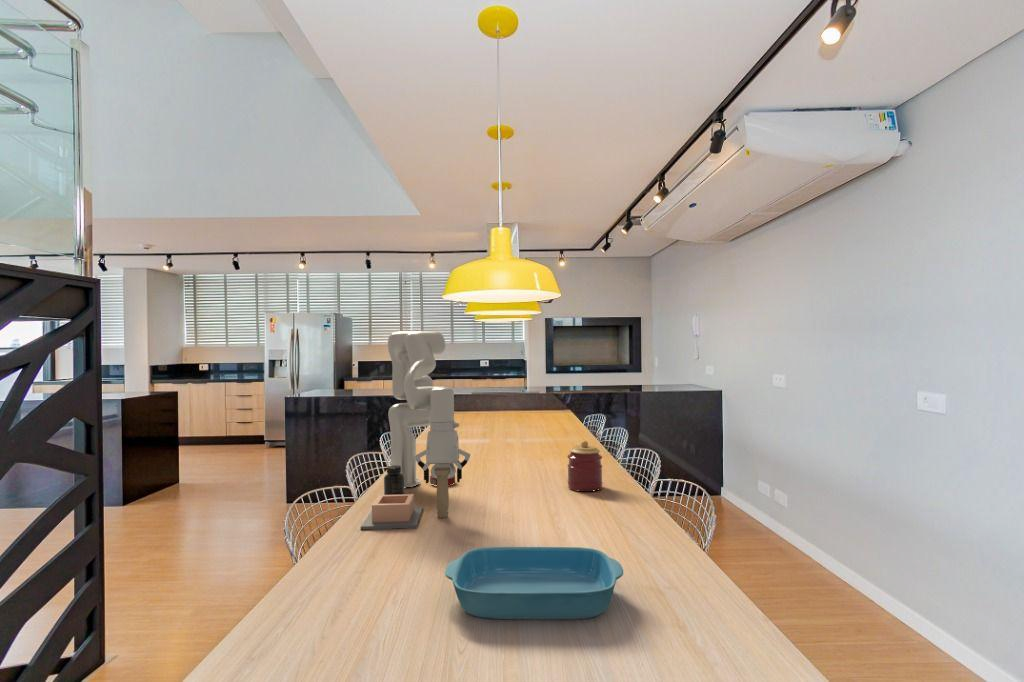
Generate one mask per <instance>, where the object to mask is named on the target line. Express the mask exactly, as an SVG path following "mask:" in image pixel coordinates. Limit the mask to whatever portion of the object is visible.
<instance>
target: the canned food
mask: <svg viewBox="0 0 1024 682" xmlns="http://www.w3.org/2000/svg"><path fill="white" fill-rule="evenodd" d="M440 466H448V467H450V474H449V475H448V485H450V484H453V483H455V484H456V474H457V469H456V468H457V467H456V465H455V464H454V463H453V464H433V465H432V467H431V469H430V475H429V484H430V483H431V484H434V485H437V475H436V474H435V473H434V470H435V468H436V467H440Z"/></svg>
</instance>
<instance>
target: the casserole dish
mask: <svg viewBox="0 0 1024 682" xmlns="http://www.w3.org/2000/svg"><path fill="white" fill-rule="evenodd" d="M444 574H445V575H444V576H445V577H446V579H448V580H451V581H452V584H453V587H454V591H455V594H456V596H457V599H458V601H459V604H460V606H461V608H462V609H463V610H464V611H465V612H466V613H467V614H469V615H470V616H471V615H472V616H474V617H478V618H482V619H495V620H496V619H497V620H498V619H500V620H583V619H584V620H585V619H590V618H595V617H597V616H599V615H600V614H602V613H604V612H605V611H606V610H607V608H608V607H609V606H610V603H611V600H612V597H613V594H614V590H615V586H616V583H617V580H618V579H620V578H622V576H623V575H624V569H623V566H622V565H621V563H620V562H619V561H618V560H616V559H614V558H612V557H610V556H608V555H607V554H606V553H605V552H603V551H601V550H599V549H595V548H589V547H577V546H576V547H575V546H574V547H573V546H572V547H571V546H570V547H569V546H485V547H478V548H473V549H470V550H467V551H466V552H464V553H463V554H462V555H461V556H460V557H458V558H456V559H454V560H452V561H451V562H449V563H448V564H447V566H446V568H445V571H444Z"/></svg>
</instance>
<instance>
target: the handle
mask: <svg viewBox="0 0 1024 682" xmlns="http://www.w3.org/2000/svg"><path fill="white" fill-rule="evenodd" d="M434 473H435V474H436V475H437V486H436V495H435V496H436V497H435V499H436V512H437V513H436V514H437V516H436V517H438V518H440V519H441V518H442V519H446V517H448V516H449V506H450V504H449V503H450V496H449V495H450V493H449V486H448V475H449V474H450V467H448V466H440V467H436V468H435V470H434Z"/></svg>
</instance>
